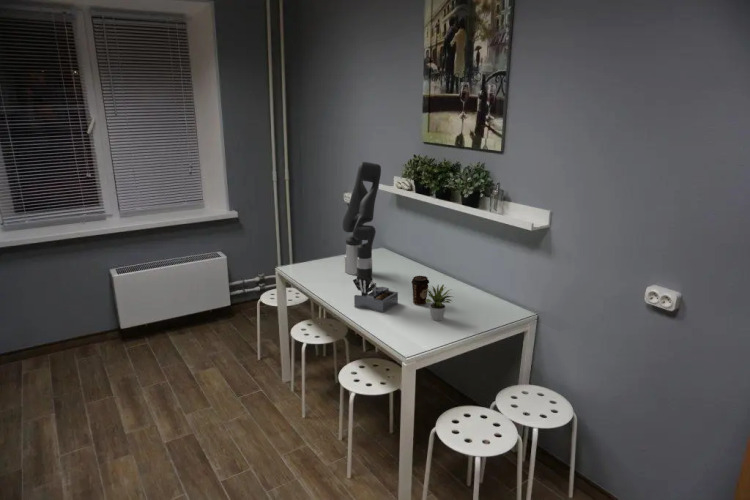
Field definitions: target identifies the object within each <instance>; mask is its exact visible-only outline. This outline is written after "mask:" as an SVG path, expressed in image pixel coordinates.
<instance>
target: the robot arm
mask: <svg viewBox="0 0 750 500" xmlns="http://www.w3.org/2000/svg"><path fill="white" fill-rule="evenodd" d="M381 174H382V166H381V165H380V164H378V163H372V162H368V161H362V162H360V163H359V166H358V169H357V174H356V178H355V182H354V186H353V189H352V193H351V197H350V200H349V204H348V207H347V210H346V213H345V214H344V216H343V220H342V230H343V231H344V232H346V233H352V235H350V236H348V237H347V238H346V239H345V252H346V253H345V256H344V272H345V273H346V274H348V275H353V276H354V275H357V276H356V278H355V279H352V282H353V284H354V285H355V288H356V289H357V290H358V291H360V293H361V294H360V295H362V296H367V294H369V293H371V292H372V289H373V288H374V287H375V286H376V287H377V282H374V280H373V277H372V276H373V258H372V257H373V255H372V254H373V252H372V251H373V243H374V239H375V236H376V233H377V232H376V231H377V230H376V228H375V227H374V226H373V225H365V224H366V223H371V222H373V220H374V214H375V213H374V211H375V203H376V198H377V195H378V190H379V185H380V180H381V176H382V175H381ZM364 182H367V183H368V182H369V183H372V185H371V187H370V190H368V189H367V188H366V186H365V184H364ZM363 241H367V242H365V243H363Z"/></svg>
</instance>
